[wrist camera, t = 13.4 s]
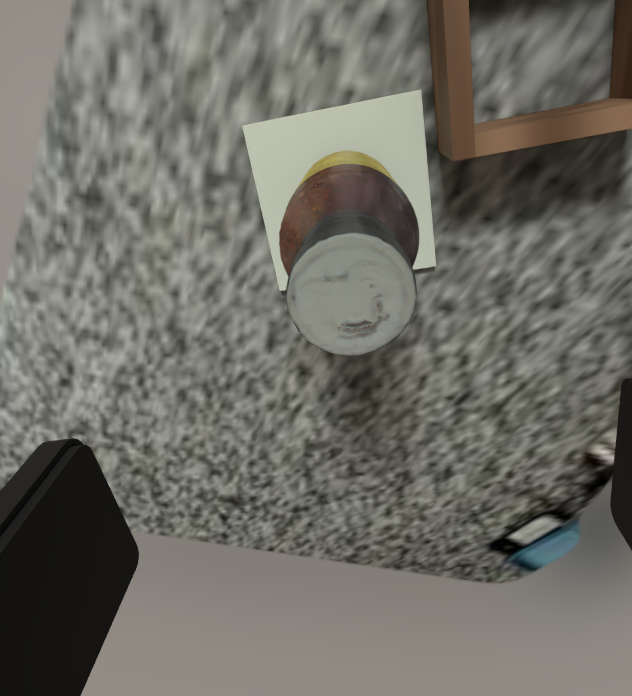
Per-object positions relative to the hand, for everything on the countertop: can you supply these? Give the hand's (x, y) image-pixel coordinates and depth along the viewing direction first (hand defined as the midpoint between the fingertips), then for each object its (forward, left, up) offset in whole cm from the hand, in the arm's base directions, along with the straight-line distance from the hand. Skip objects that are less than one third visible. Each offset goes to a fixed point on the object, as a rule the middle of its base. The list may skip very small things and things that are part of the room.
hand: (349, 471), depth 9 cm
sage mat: (0, 0, -28) cm, 28 cm away
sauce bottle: (0, 0, -27) cm, 27 cm away
